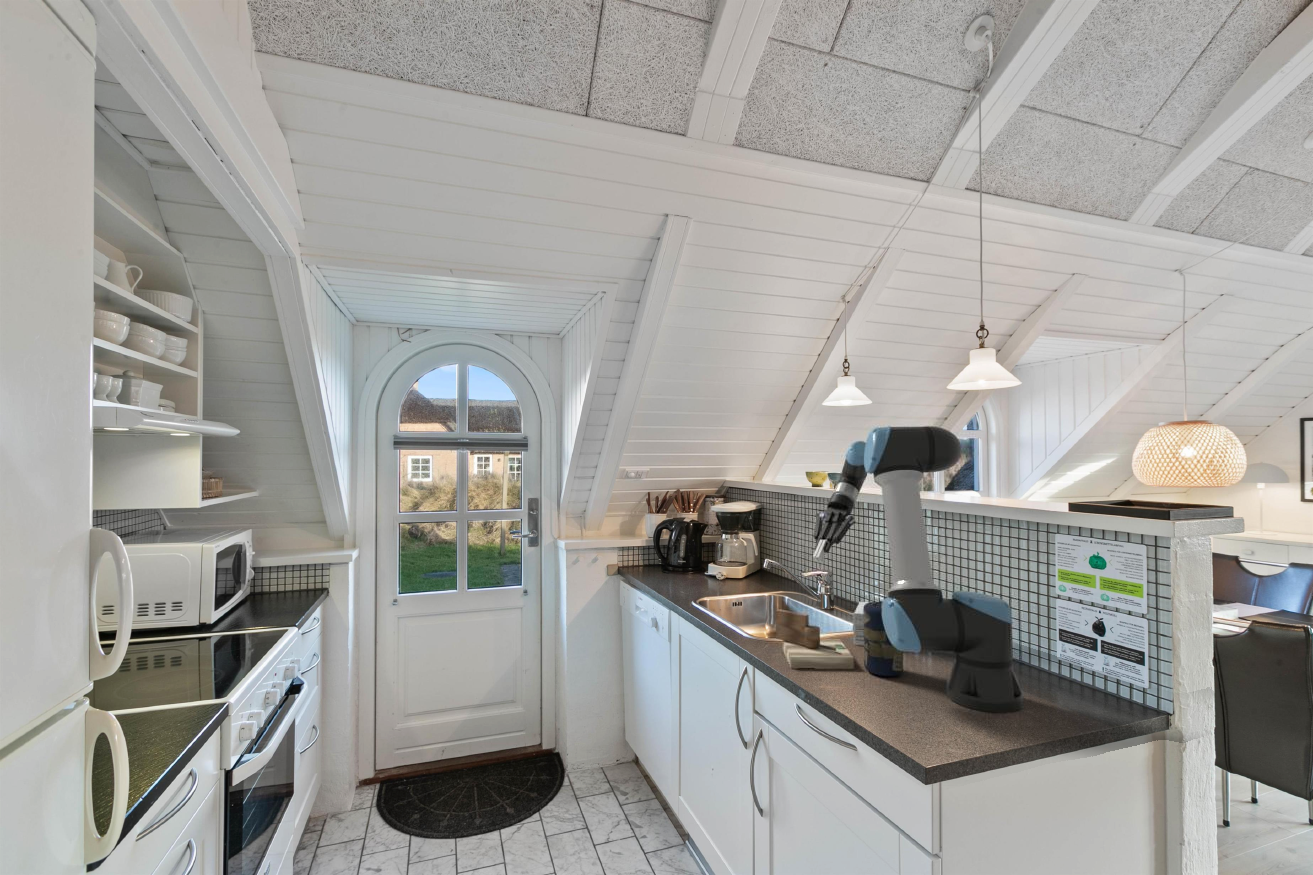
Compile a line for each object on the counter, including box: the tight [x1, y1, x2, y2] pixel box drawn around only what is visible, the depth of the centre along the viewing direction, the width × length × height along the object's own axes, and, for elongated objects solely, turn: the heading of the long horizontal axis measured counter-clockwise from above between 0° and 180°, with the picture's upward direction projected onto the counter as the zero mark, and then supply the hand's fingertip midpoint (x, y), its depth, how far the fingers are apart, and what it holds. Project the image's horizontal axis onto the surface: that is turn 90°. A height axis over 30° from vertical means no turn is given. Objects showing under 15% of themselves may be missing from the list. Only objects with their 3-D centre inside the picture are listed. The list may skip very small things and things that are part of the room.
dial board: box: [782, 638, 855, 670], centre depth 168 cm, size 16×16×3 cm
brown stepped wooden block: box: [775, 608, 836, 651], centre depth 169 cm, size 18×4×8 cm, turn 46°
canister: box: [863, 600, 905, 677], centre depth 157 cm, size 10×10×18 cm
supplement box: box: [852, 601, 871, 647], centre depth 185 cm, size 17×13×9 cm
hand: (817, 559), depth 185 cm, fingers closed
